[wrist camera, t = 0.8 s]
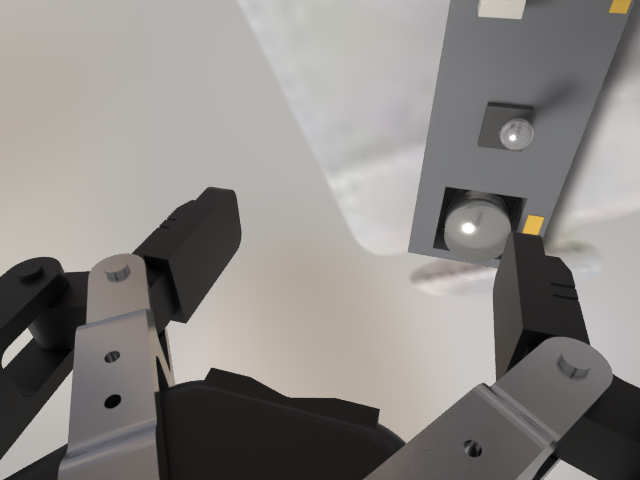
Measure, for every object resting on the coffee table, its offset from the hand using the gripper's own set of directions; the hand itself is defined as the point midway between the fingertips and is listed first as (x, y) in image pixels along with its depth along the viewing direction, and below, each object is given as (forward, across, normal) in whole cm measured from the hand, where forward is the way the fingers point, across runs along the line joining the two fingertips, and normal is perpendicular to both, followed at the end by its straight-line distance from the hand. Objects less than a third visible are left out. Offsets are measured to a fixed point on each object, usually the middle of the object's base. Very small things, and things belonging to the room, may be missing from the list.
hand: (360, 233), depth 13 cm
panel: (+21, -6, +3) cm, 22 cm away
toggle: (+17, -6, +3) cm, 18 cm away
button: (+19, -5, +11) cm, 22 cm away
